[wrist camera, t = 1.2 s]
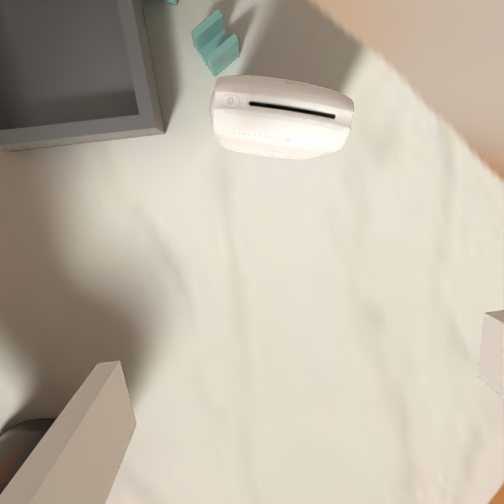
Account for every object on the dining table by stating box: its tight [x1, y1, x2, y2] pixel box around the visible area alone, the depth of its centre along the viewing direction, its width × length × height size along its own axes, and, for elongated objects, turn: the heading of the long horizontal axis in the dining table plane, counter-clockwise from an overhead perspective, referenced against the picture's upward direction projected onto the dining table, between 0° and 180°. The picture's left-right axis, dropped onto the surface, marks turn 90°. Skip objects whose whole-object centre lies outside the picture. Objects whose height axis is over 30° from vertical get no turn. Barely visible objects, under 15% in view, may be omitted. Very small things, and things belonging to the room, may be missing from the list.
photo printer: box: [210, 75, 354, 159], centre depth 24 cm, size 10×4×12 cm, turn 83°
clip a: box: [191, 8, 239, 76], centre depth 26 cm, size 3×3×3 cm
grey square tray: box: [0, 0, 165, 151], centre depth 25 cm, size 15×15×4 cm
